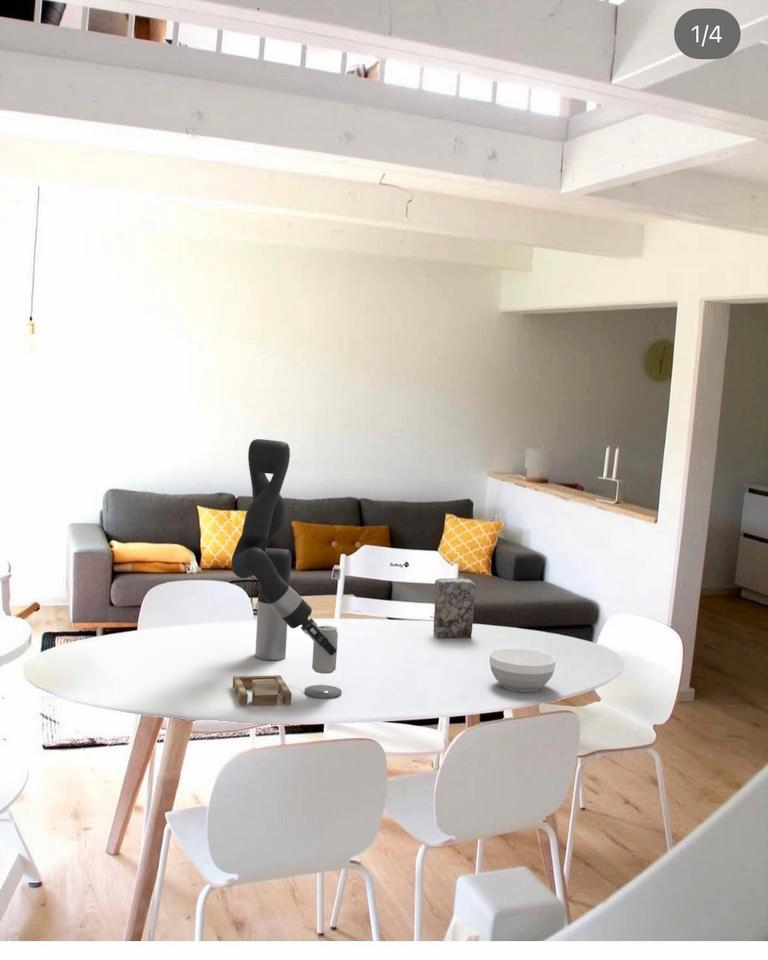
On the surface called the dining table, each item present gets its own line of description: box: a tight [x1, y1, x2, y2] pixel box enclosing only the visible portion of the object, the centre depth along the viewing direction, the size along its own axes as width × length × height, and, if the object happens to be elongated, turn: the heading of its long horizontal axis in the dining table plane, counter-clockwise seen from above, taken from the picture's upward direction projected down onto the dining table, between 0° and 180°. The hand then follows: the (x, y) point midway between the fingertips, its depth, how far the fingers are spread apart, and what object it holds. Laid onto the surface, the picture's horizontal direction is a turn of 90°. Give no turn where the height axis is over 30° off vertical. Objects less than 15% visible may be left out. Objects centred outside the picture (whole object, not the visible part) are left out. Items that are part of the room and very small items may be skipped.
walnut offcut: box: [251, 691, 279, 707], centre depth 265 cm, size 4×6×3 cm, turn 105°
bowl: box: [489, 648, 557, 693], centre depth 294 cm, size 19×19×9 cm
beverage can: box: [311, 625, 339, 675], centre depth 276 cm, size 6×6×12 cm
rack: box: [232, 674, 293, 707], centre depth 271 cm, size 17×13×3 cm
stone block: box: [433, 577, 477, 639], centre depth 351 cm, size 13×7×20 cm, turn 109°
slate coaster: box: [304, 684, 343, 700], centre depth 277 cm, size 10×10×1 cm
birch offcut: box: [251, 679, 279, 696], centre depth 264 cm, size 4×6×3 cm, turn 110°
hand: (331, 649), depth 276 cm, fingers closed on beverage can, 6 cm apart
